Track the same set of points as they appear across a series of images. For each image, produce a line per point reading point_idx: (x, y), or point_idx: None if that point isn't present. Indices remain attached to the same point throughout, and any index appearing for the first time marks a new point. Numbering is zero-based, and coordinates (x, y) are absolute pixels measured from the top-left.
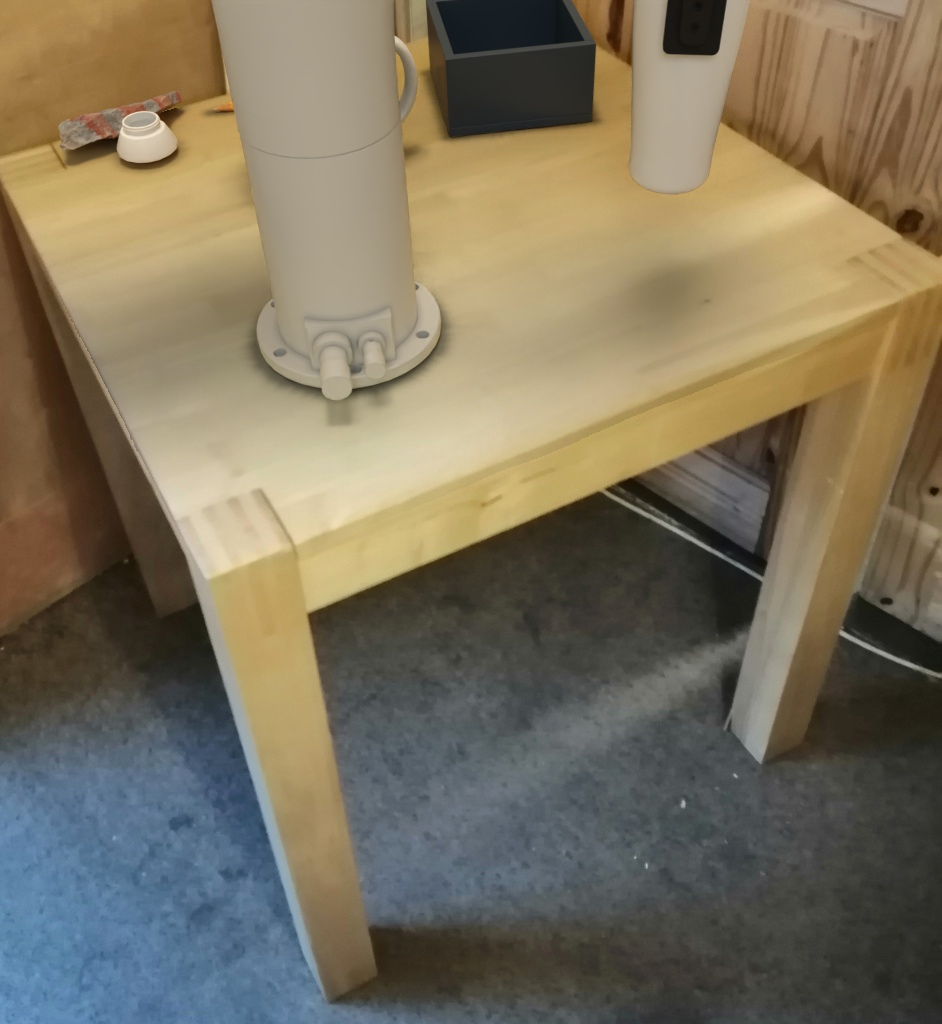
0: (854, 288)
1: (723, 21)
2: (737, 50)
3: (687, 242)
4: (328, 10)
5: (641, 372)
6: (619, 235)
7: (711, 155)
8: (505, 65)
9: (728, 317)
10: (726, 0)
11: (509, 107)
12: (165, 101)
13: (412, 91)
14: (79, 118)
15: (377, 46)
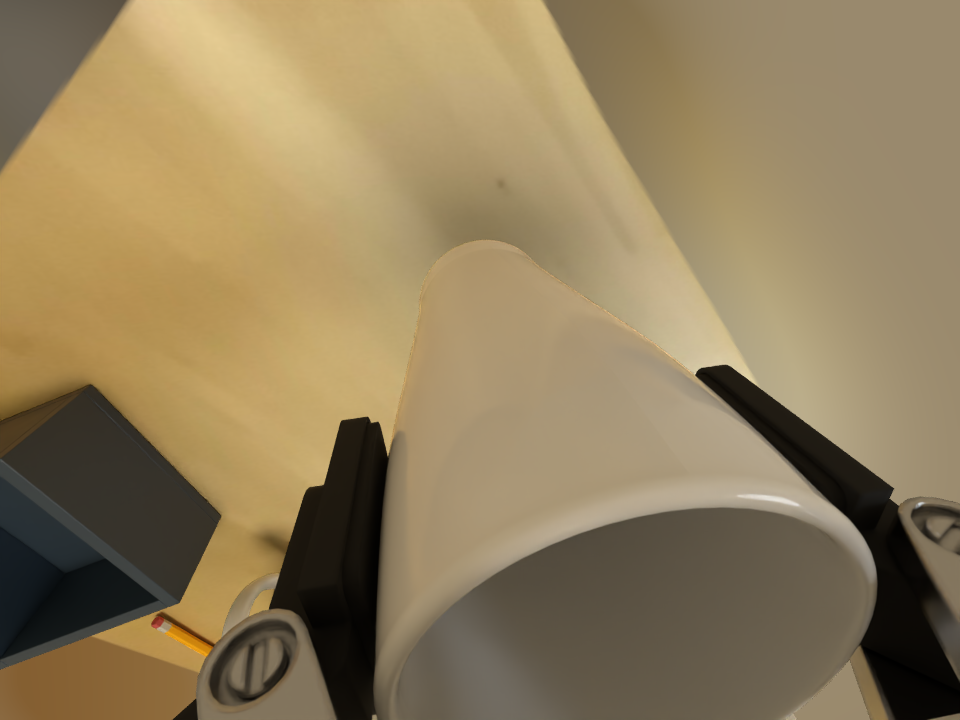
0: None
1: (782, 406)
2: (577, 300)
3: (372, 219)
4: None
5: (634, 248)
6: (377, 306)
7: (509, 250)
8: (130, 539)
9: (532, 153)
10: (832, 446)
11: (158, 489)
12: None
13: (254, 598)
14: None
15: None
